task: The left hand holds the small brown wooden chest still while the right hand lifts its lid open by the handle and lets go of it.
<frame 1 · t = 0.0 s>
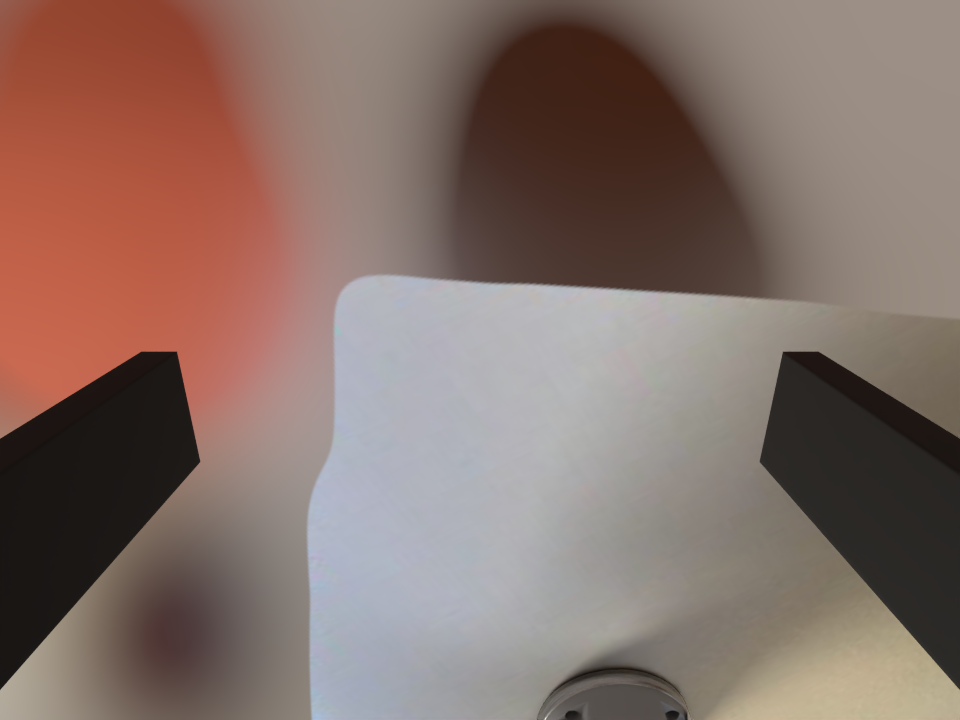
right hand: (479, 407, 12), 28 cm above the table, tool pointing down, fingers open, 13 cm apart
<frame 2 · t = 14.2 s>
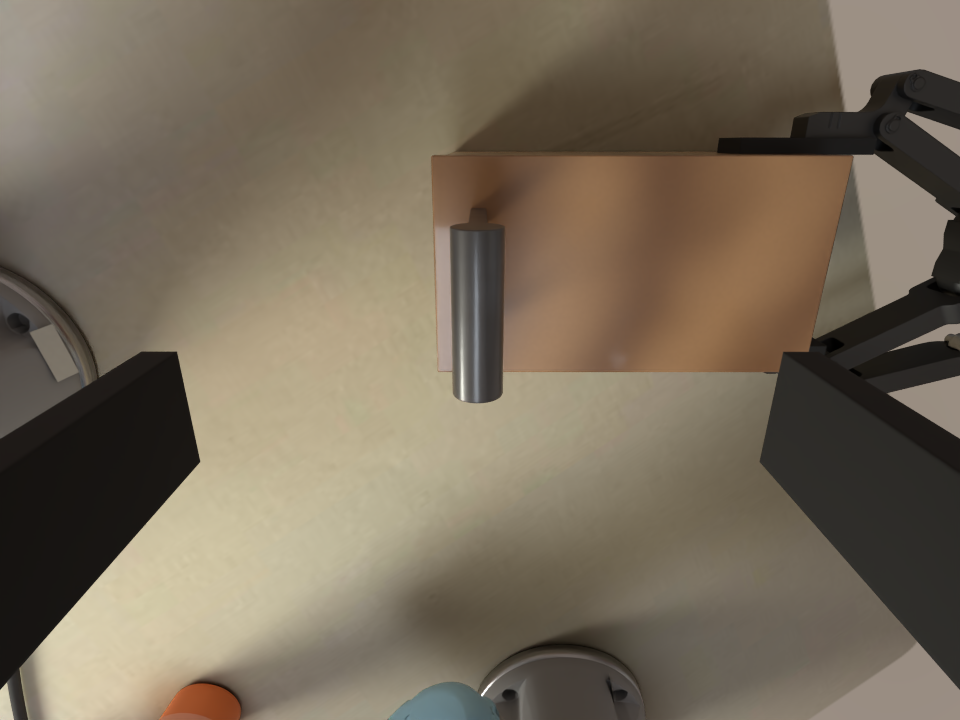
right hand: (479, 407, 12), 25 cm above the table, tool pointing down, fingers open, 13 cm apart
chest: (589, 233, 36), on the table, touching left hand
cup with straw: (209, 703, 52), on the table
lid: (651, 288, 22), point 15 cm above the table, hinge at 0.0°
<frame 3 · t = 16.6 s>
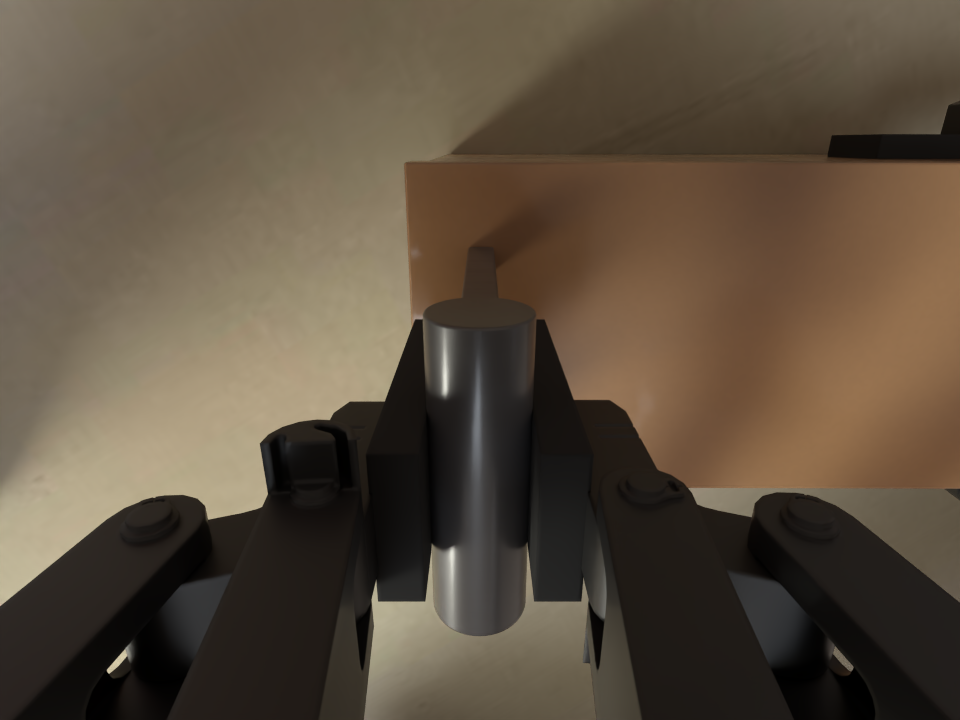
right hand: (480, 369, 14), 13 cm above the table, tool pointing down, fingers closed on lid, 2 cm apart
chest: (630, 264, 27), on the table, touching left hand
lid: (773, 389, 13), point 15 cm above the table, hinge at 0.0°, touching right hand
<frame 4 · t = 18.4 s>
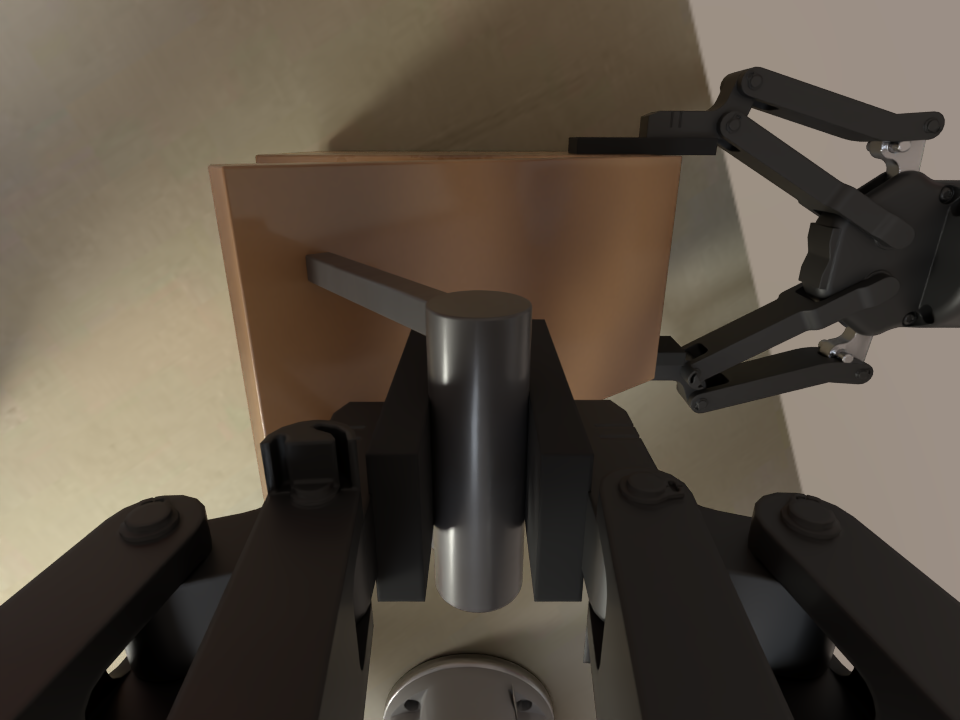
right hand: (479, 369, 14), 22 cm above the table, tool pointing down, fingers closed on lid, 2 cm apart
left hand: (566, 254, 29), fingers closed on chest, 10 cm apart
chest: (463, 236, 35), on the table, touching left hand
lid: (585, 334, 17), point 19 cm above the table, hinge at 37.1°, touching right hand
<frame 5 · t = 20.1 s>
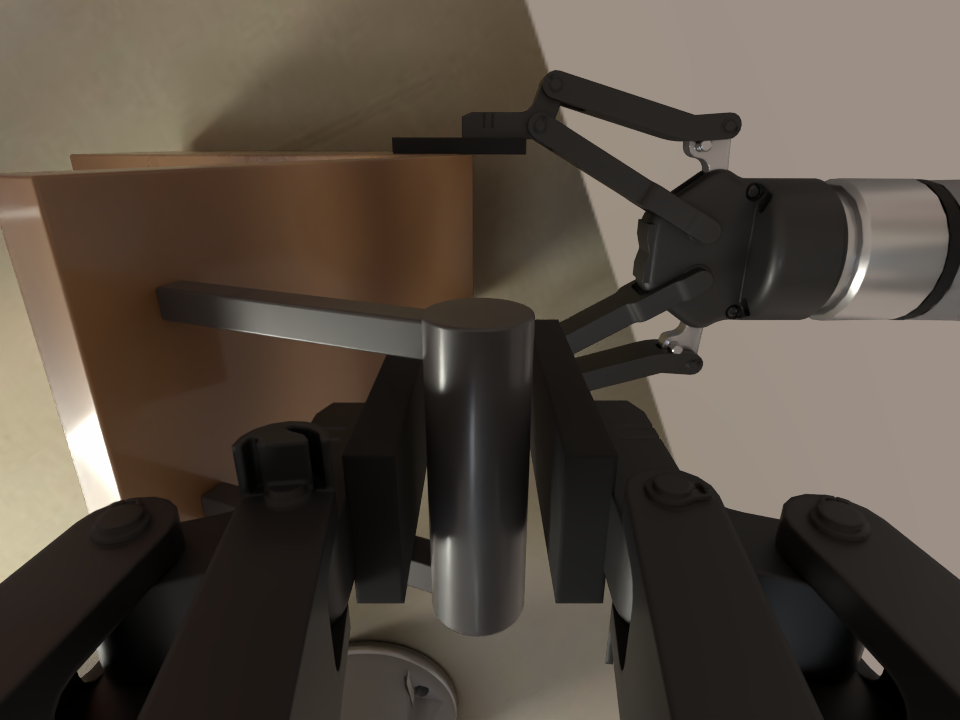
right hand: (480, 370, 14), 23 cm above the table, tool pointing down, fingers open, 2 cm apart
left hand: (401, 250, 30), fingers closed on chest, 10 cm apart
chest: (329, 232, 36), on the table, touching left hand
lid: (456, 332, 17), point 20 cm above the table, hinge at 66.9°
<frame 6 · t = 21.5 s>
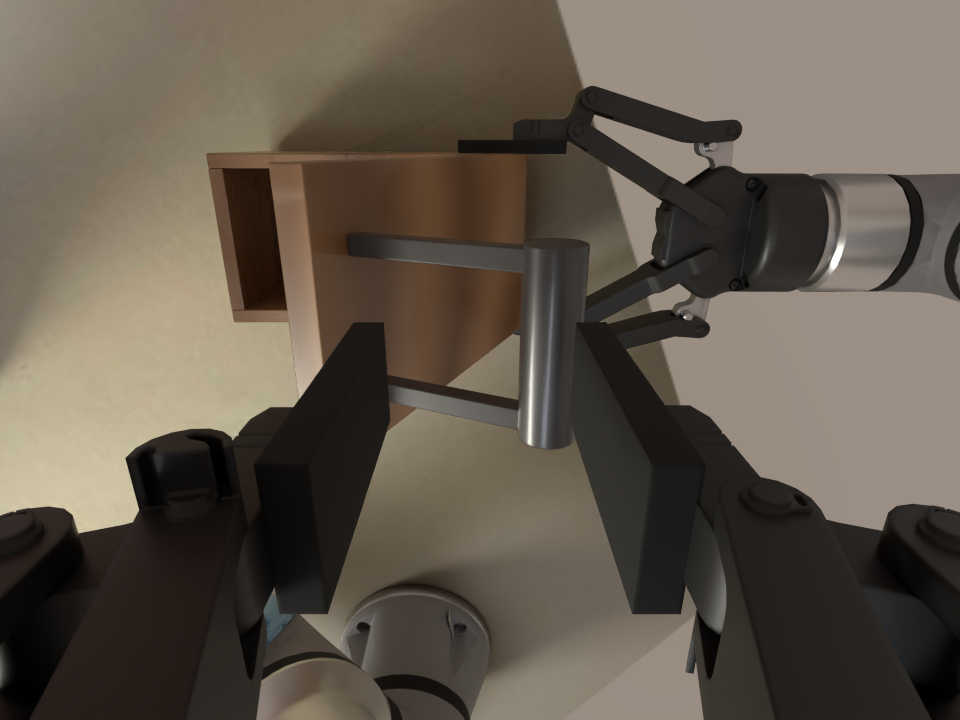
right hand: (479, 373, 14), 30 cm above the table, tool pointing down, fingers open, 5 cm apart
left hand: (460, 233, 37), fingers closed on chest, 10 cm apart
chest: (391, 220, 42), on the table, touching left hand
lid: (521, 283, 23), point 21 cm above the table, hinge at 64.6°
when the left hand's fingers open (6 cm above the table, at t = 24.1 s): chest stays where it is, on the table.
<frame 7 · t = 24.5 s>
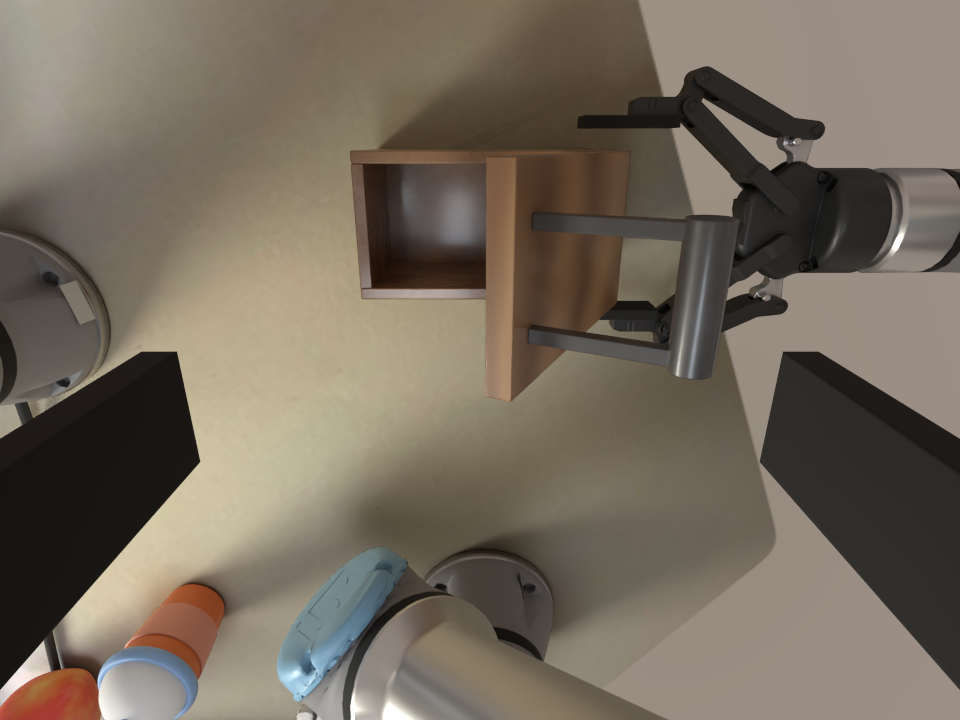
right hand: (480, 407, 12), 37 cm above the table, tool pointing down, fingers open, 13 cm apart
left hand: (574, 221, 41), fingers open, 13 cm apart
chest: (483, 211, 47), on the table
cup with straw: (198, 603, 63), on the table
lid: (643, 258, 28), point 21 cm above the table, hinge at 62.8°
apple: (81, 675, 67), on the table
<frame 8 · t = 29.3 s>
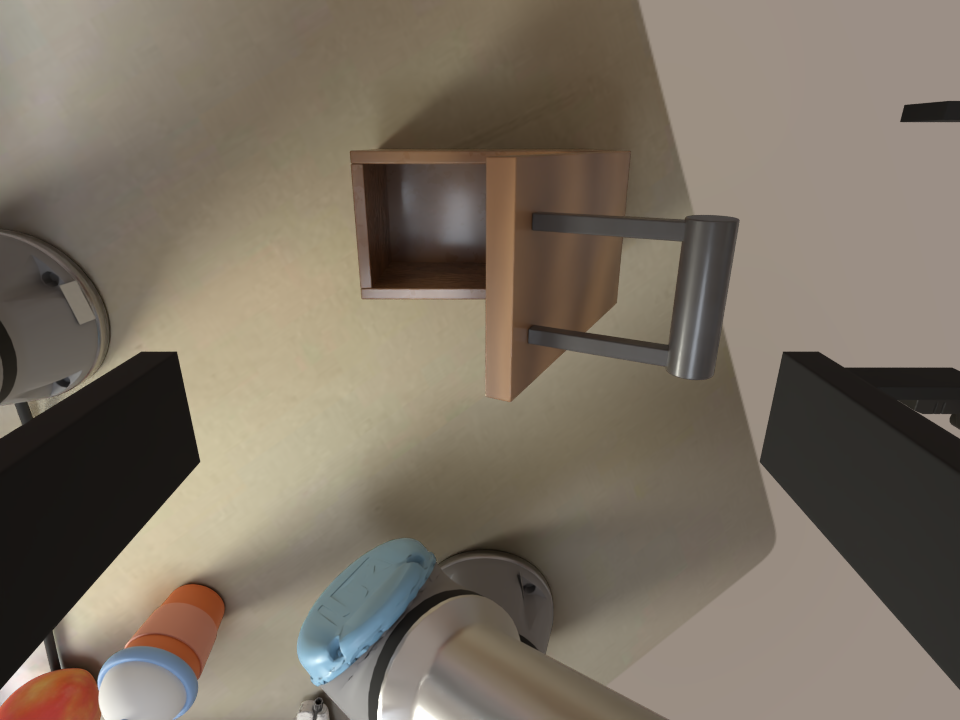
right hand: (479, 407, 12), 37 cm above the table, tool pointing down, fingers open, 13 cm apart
chest: (483, 211, 47), on the table
cup with straw: (198, 603, 63), on the table
lid: (643, 258, 28), point 21 cm above the table, hinge at 62.8°
apple: (81, 675, 67), on the table
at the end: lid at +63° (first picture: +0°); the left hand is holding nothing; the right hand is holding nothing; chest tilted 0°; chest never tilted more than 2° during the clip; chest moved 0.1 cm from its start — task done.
